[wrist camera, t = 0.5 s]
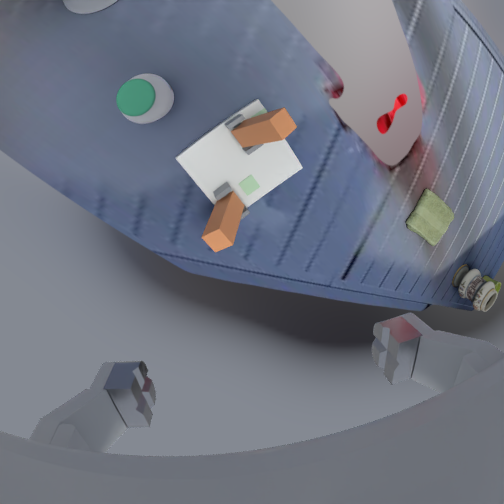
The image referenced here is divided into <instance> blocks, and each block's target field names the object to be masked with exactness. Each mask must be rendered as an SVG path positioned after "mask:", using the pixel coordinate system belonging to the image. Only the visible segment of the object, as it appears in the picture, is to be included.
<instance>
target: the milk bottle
mask: <svg viewBox="0 0 504 504" xmlns="http://www.w3.org/2000/svg"><path fill="white" fill-rule="evenodd" d="M116 102H117V106H118V108H119V110H120V111H121V112H122V114H123V115H124V116H125V117H126V118H127V119H128V120H130V121H132V122H134V123H138V124H147V123H151V122H154V121H156V120H158V119H160V118H162V117H163V116H165V115H166V114H167V113H168V112H169V111H170V109H171V108H172V105H173V102H174V93H173V90H172V88H171V86H170V85H169V84H168V83H167V82H166V81H165V80H164V79H163V78H161V77H160V76H158V75H155V74H149V73H146V74H140V75H137V76H135V77H133V78H131V79H130V80H129V81H127V82H126V83H124V84H123V85H122V86H121V88H120V89H119V91H118V93H117V98H116Z"/></svg>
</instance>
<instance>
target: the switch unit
mask: <svg viewBox="0 0 504 504" xmlns="http://www.w3.org/2000/svg"><path fill="white" fill-rule="evenodd" d="M264 113H268V112H267V111H266V109H265V108H264V107H263V105H262V104H261V102H260V101H259V100H258V99H255V100H254V101H252V102H251V103H249V104H248V105H246V106H245V107H243V108H242V109H240V110H239V111H237V112H236V113H234V114H233V115H231V116H230V117H228V118H227V119H226V120H224V121H223V122H221V123H220V124H218V125H217V126H216V127H214V128H213V129H212V130H210V131H209V132H207V133H206V134H205V135H203V136H202V137H201V138H199V139H198V140H197V141H195V142H194V143H193V144H191V145H190V146H189V147H188V148H186V149H185V150H184V151H182V152H181V153H180V154H179V155H177V156H176V160H177V161H178V162H179V163H180V164H181V166H182V167H183V168H184V169H185V170H186V172H187V173H188V174H189V175H190V176H191V178H192V179H193V180H194V181H195V182H196V184H197V185H198V186H199V187H200V188H201V190H202V191H203V192H204V193H205V194H206V196H207V197H208V198H209V199H210V201H211V202H212V203H213V204H214V205H215V204H216V202H217V201H218V200H220V199H221V198H222V197H224V196H225V195H226V194H228V193H230V192H232V191H234V192H235V194H236V195H237V196H238V197H239V199H240V200H241V201H242V203H243V204H244V209H243V212H242V216H241V219H243V218H244V217H245V216H247V215H248V214H249V213H250V212H249V210H248V209H247V207H249V206H250V205H251V204H253V203H254V202H255V201H257V200H258V199H260V198H261V197H262V196H264V195H265V194H267V193H268V192H269V191H271V190H272V189H274V188H275V187H276V186H278V185H279V184H281V183H282V182H283V181H285V180H286V179H288V178H289V177H291V176H292V175H293V174H295V173H296V172H298V171H299V170H301V169H302V168H303V167H302V165H301V164H300V162H299V160H298V159H297V157H296V156H295V154H294V152H293V151H292V149H291V148H290V146H289V145H288V143H287V141H286V140H285V139H283V140H281V141H275V142H270V143H264V144H259V145H254V146H249V147H244V148H242V146H241V145H240V143H239V142H238V141H237V139H236V138H235V137H234V135H233V134H232V133H231V131H232V130H233V129H234V126H235V125H237V124H238V123H242V122H243V121H244V120H246V119H249V118H252V117H255V116H258V115H261V114H264ZM241 219H240V220H241Z"/></svg>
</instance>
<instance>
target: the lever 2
mask: <svg viewBox="0 0 504 504" xmlns="http://www.w3.org/2000/svg"><path fill="white" fill-rule="evenodd" d="M296 128H297V126H296V125H295V123H294V121H293V120H292V118H291V117H290V115H289V114H288V112H287V110H286V109H285V107H284V108H281V109H277V110H274V111H271V112H268V113H264V114H261V115H258V116H255V117H252V118H249V119H246V120H244V121H243V122H242V123H238V124H237V125H235V126H234V129H233V130H232V131H231V133H232V134H233V135H234V137H235V138H236V139H237V141H238V142H239V143H240V145H241V146H242V148H244V147H249V146H254V145H259V144H264V143H270V142H275V141H281V140H283V139H285V138H286V137H287V136H288V135H289V134H290V133H291V132H292V131H293V130H294V129H296Z"/></svg>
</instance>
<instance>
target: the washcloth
mask: <svg viewBox="0 0 504 504" xmlns="http://www.w3.org/2000/svg"><path fill="white" fill-rule="evenodd" d="M453 219H454V213H453V212H452V210H451V208H449V207H448V206H447V205H446V204H445V203H444V202H443V201H442V200H441V199H440V198H439V197H438V196H437V195H436V194H435V193H433V192H431V191H430V190H428V189H425V190H424V192H423V194H422V196H421V198H420V200H419V201H418V204H417V206H416V207H415V209H414V211H413V212H412V213H411V215H410V216H409V218H408V219H407V221H406V224H407V228H408V229H410V230H411V231H413V232H415V233H417V234H418V235H420V236H421V237H423V238H424V239H425V240H426V241H427V242H428V243H429V244H431V245H432V246H435V245H436V244H437V243H438V241H439V240H440V238H441V236H442V235H443V234H444V233H445V232H446V230H447V229H448V226H449V224H450V222H451V221H452V220H453Z"/></svg>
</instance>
